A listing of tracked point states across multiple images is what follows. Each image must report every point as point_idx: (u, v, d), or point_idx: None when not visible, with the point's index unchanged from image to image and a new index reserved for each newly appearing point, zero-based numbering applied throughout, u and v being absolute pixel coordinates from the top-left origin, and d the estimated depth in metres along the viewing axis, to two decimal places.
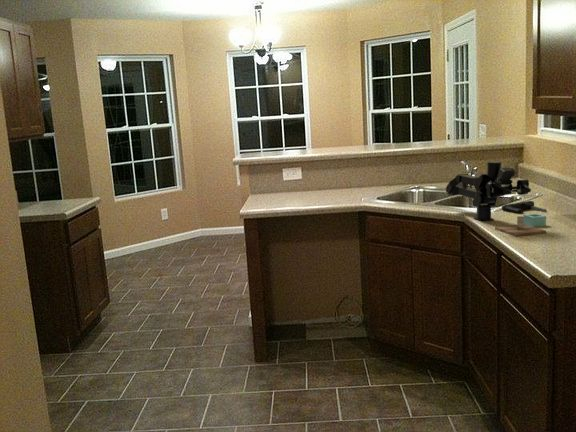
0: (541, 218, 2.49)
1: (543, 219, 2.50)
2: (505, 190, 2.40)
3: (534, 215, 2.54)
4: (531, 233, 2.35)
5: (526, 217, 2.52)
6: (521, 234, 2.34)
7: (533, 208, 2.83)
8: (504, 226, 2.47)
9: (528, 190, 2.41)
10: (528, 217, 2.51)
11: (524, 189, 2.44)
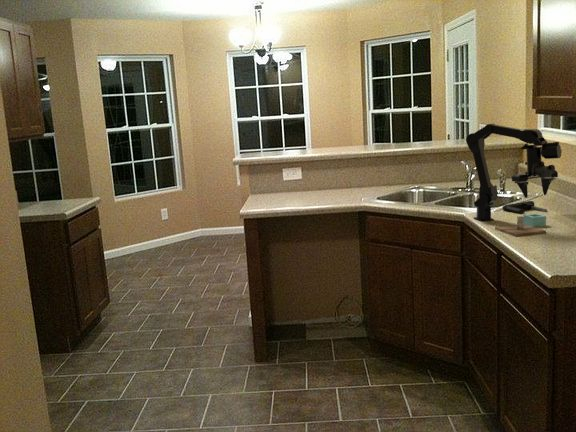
0: (541, 218, 2.49)
1: (543, 219, 2.50)
2: (524, 192, 2.48)
3: (534, 215, 2.54)
4: (531, 233, 2.35)
5: (526, 217, 2.52)
6: (521, 234, 2.34)
7: (534, 208, 2.83)
8: (504, 226, 2.47)
9: (544, 192, 2.51)
10: (528, 217, 2.51)
11: (544, 185, 2.50)
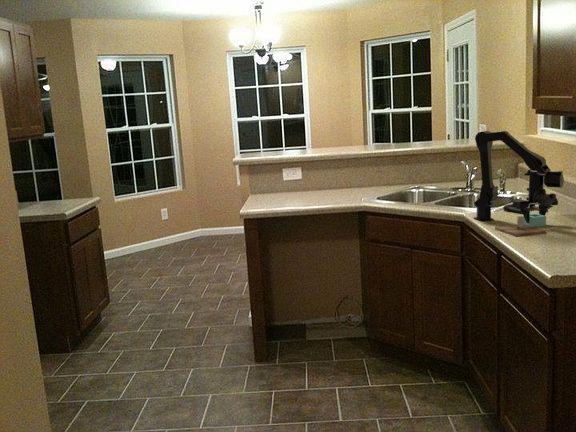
0: (541, 218, 2.49)
1: (543, 219, 2.50)
2: (526, 218, 2.51)
3: (534, 215, 2.54)
4: (531, 233, 2.35)
5: None
6: (521, 234, 2.34)
7: (534, 208, 2.83)
8: (504, 226, 2.47)
9: None
10: None
11: (541, 212, 2.53)
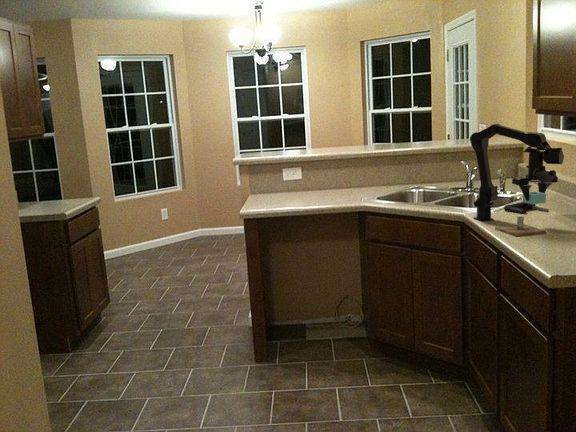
0: (541, 195, 2.46)
1: (543, 197, 2.47)
2: (526, 195, 2.47)
3: (534, 193, 2.51)
4: (531, 233, 2.35)
5: None
6: (521, 234, 2.34)
7: (535, 208, 2.83)
8: (504, 226, 2.47)
9: None
10: None
11: (541, 190, 2.50)
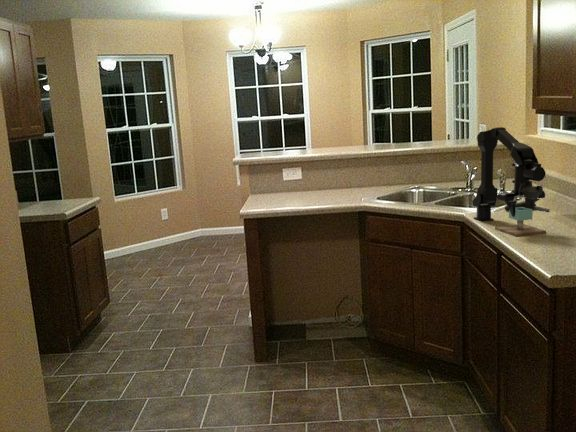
0: (527, 212, 2.37)
1: (529, 213, 2.38)
2: (512, 211, 2.39)
3: (520, 208, 2.42)
4: (531, 233, 2.35)
5: None
6: (521, 234, 2.34)
7: (535, 208, 2.83)
8: (504, 226, 2.47)
9: None
10: None
11: (528, 205, 2.41)
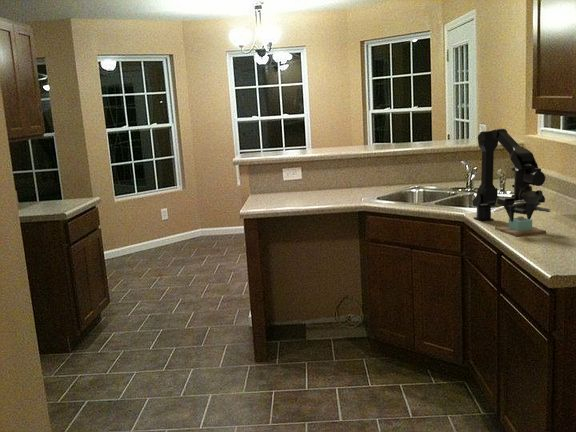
0: (527, 222, 2.38)
1: (529, 223, 2.39)
2: (510, 216, 2.39)
3: None
4: (531, 233, 2.35)
5: (511, 221, 2.41)
6: (521, 234, 2.34)
7: (536, 208, 2.83)
8: (504, 226, 2.47)
9: (528, 217, 2.42)
10: (513, 221, 2.40)
11: (529, 210, 2.41)
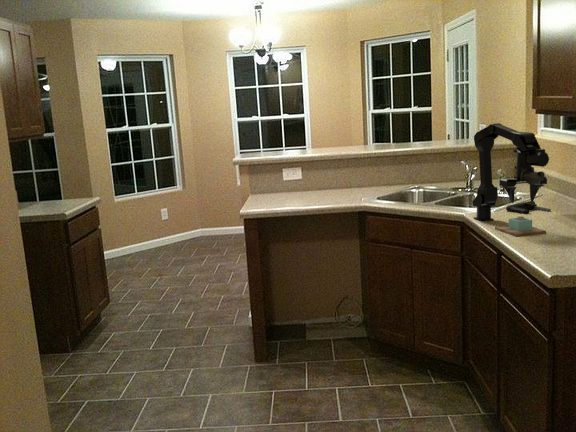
0: (527, 222, 2.38)
1: (529, 223, 2.39)
2: (511, 197, 2.40)
3: None
4: (531, 233, 2.35)
5: (511, 221, 2.41)
6: (521, 234, 2.34)
7: (536, 208, 2.83)
8: (504, 226, 2.47)
9: (531, 198, 2.43)
10: (513, 221, 2.40)
11: (532, 191, 2.43)
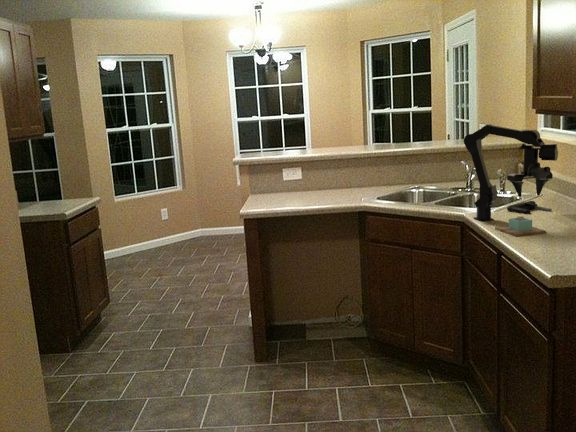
0: (527, 222, 2.38)
1: (529, 223, 2.39)
2: (518, 191, 2.51)
3: None
4: (531, 233, 2.35)
5: (511, 221, 2.41)
6: (521, 234, 2.34)
7: (537, 208, 2.83)
8: (504, 226, 2.47)
9: (537, 193, 2.54)
10: (513, 221, 2.40)
11: (538, 186, 2.54)
